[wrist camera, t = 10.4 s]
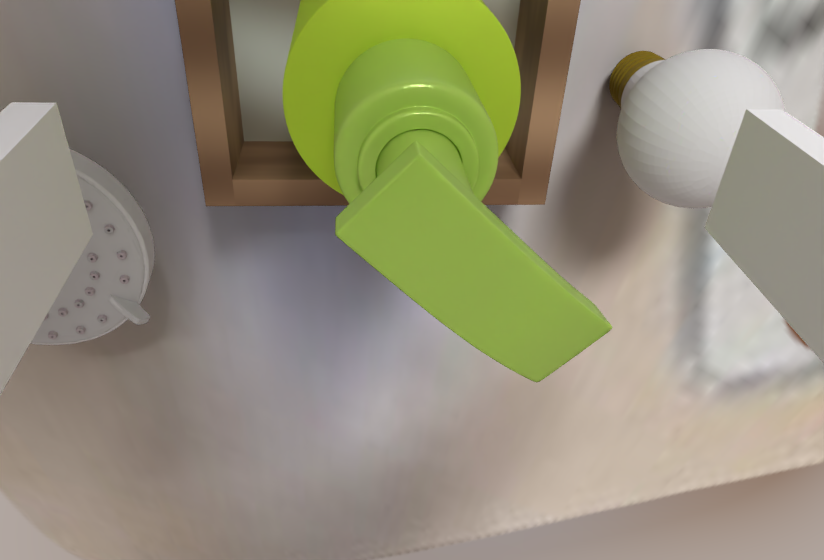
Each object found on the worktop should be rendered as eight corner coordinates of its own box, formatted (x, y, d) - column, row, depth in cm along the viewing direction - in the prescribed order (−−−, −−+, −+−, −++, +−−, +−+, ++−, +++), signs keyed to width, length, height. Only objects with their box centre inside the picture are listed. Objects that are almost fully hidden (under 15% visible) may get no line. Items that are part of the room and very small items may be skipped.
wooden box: (174, -223, 23) (139, -235, 19) (570, -201, 25) (617, -206, 20) (223, 156, 31) (206, 206, 27) (518, 157, 33) (544, 204, 29)
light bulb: (562, 27, 29) (650, 104, 21) (694, -8, 29) (834, 57, 21) (574, 146, 33) (653, 253, 24) (692, 116, 32) (811, 214, 24)
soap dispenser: (396, 109, 30) (467, 456, 13) (275, -5, 26) (171, 265, 10) (493, 11, 28) (720, 278, 11) (375, -125, 24) (448, -32, 8)
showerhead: (103, 395, 29) (-151, 301, 26) (143, 300, 35) (-59, 212, 32) (196, 244, 26) (-87, 106, 22) (223, 166, 32) (4, 46, 28)
